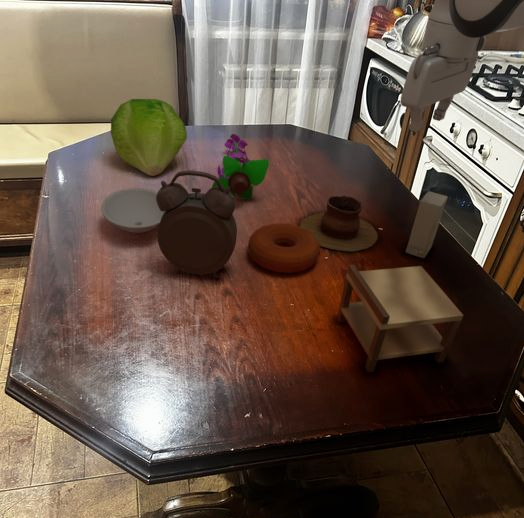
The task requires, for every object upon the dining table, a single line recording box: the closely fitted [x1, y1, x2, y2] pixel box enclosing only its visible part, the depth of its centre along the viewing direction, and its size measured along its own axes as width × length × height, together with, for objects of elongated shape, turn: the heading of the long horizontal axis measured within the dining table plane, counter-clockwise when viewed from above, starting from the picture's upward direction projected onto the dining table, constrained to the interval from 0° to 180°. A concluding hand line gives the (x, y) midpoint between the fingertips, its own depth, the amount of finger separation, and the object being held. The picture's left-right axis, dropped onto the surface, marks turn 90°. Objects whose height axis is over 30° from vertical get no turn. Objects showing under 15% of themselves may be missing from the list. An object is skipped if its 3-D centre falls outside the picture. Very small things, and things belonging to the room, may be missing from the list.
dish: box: [100, 187, 165, 234], centre depth 109 cm, size 18×14×5 cm
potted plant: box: [211, 133, 270, 200], centre depth 131 cm, size 12×16×35 cm
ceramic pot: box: [299, 195, 379, 252], centre depth 114 cm, size 18×18×7 cm
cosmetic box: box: [405, 190, 448, 259], centre depth 109 cm, size 6×4×12 cm
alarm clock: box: [156, 170, 238, 279], centre depth 94 cm, size 15×7×20 cm, turn 83°
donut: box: [247, 223, 321, 274], centre depth 105 cm, size 15×15×5 cm
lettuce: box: [110, 98, 188, 177], centre depth 131 cm, size 17×20×17 cm
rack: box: [336, 264, 464, 373], centre depth 85 cm, size 14×14×12 cm
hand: (426, 124), depth 97 cm, fingers open, 8 cm apart
